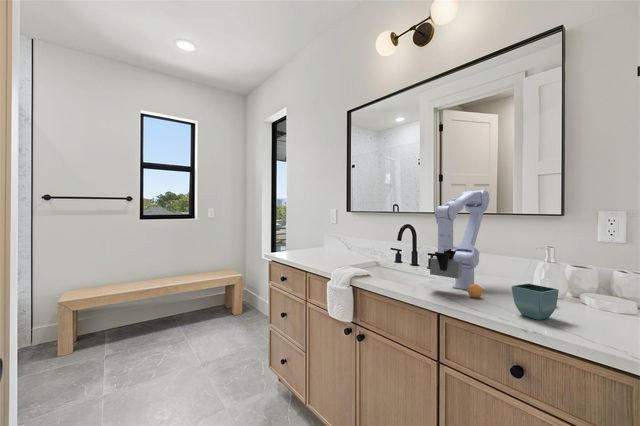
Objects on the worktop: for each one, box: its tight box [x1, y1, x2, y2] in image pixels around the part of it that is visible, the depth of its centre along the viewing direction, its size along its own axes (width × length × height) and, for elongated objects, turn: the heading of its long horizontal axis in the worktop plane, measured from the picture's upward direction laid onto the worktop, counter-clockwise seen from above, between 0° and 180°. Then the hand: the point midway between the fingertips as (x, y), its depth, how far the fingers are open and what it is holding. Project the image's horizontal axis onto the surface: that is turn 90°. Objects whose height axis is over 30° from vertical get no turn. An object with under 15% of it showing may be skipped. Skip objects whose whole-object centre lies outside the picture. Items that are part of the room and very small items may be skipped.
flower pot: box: [511, 283, 560, 321], centre depth 86 cm, size 9×9×9 cm
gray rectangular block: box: [429, 256, 462, 279], centre depth 113 cm, size 6×10×6 cm, turn 52°
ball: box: [466, 283, 483, 299], centre depth 107 cm, size 5×5×5 cm
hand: (445, 269), depth 113 cm, fingers closed on gray rectangular block, 6 cm apart
